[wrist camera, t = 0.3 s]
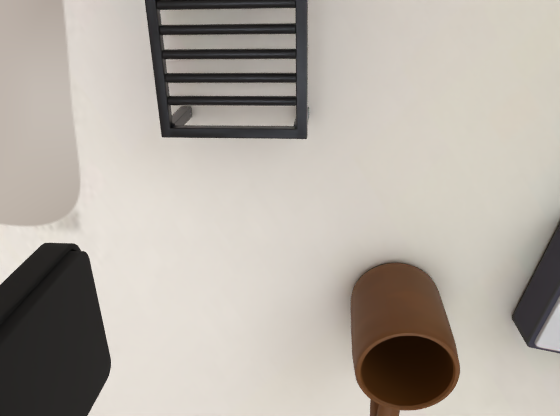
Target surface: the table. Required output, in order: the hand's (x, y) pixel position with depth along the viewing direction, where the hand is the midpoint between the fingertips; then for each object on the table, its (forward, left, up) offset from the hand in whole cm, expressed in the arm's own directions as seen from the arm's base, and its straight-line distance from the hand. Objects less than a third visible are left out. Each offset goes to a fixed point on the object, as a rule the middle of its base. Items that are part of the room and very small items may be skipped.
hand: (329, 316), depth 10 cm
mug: (+23, +5, -30) cm, 38 cm away
